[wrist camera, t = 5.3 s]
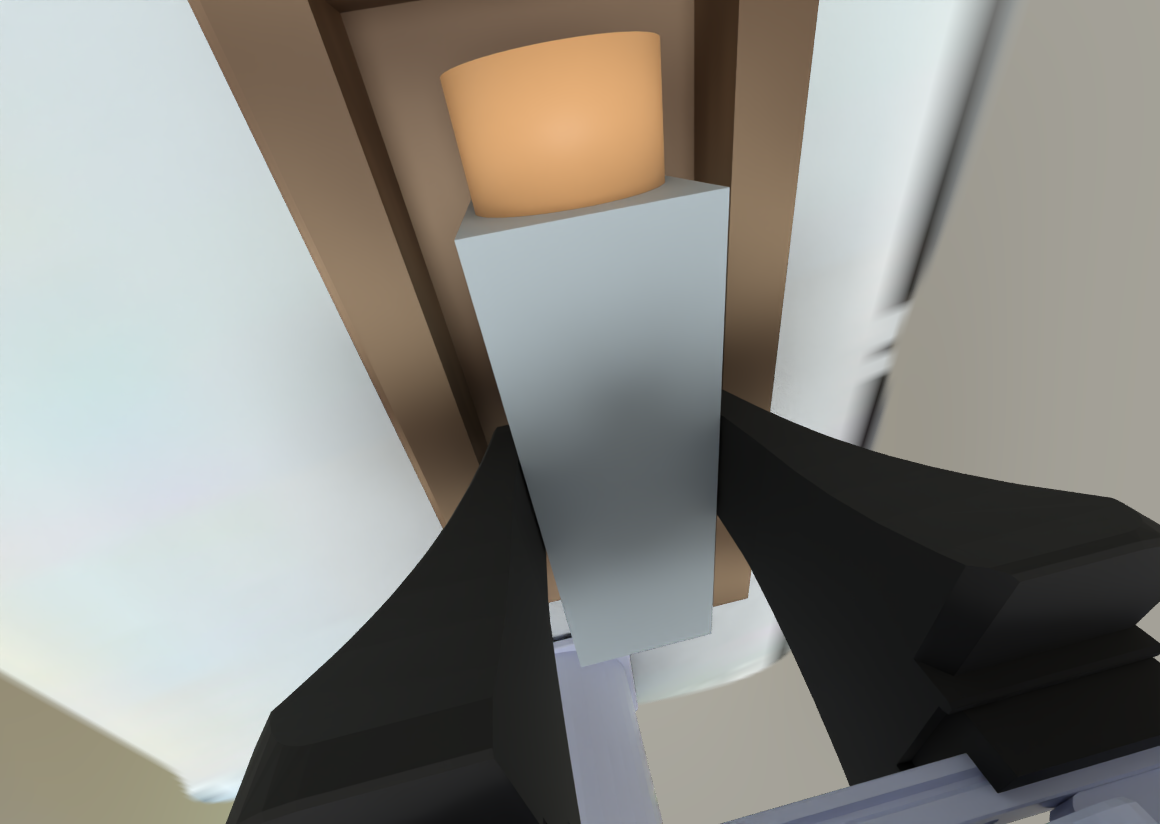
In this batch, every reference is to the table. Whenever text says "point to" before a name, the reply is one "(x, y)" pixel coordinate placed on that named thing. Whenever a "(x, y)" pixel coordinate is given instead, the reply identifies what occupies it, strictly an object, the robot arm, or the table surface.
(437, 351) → the wooden rail tray
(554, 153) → the orange-capped grey pillar
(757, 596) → the table surface
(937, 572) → the robot arm
